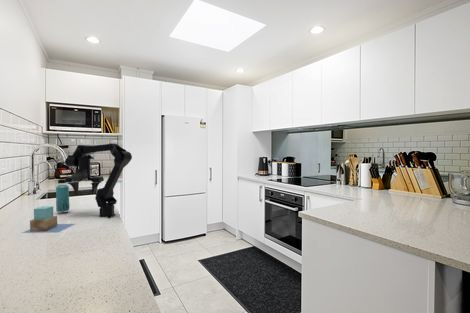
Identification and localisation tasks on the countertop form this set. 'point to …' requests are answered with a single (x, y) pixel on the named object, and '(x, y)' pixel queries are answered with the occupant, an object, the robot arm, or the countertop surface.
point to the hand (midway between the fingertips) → (84, 194)
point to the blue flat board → (53, 230)
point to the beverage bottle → (62, 197)
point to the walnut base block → (43, 224)
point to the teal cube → (43, 213)
